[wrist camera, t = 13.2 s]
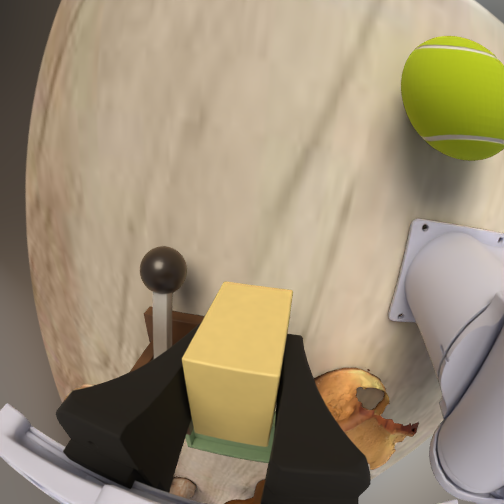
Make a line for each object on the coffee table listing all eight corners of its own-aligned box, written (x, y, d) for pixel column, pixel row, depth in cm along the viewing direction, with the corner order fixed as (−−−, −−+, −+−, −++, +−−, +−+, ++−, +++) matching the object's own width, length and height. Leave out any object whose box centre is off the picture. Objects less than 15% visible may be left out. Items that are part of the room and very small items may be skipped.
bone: (419, 366, 22) (439, 440, 15) (380, 426, 27) (384, 490, 19) (291, 350, 24) (279, 432, 16) (273, 414, 28) (259, 482, 21)
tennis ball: (380, 46, 14) (414, 8, 8) (472, 58, 12) (530, 41, 6) (392, 151, 17) (434, 166, 10) (481, 156, 15) (543, 175, 9)
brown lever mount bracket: (149, 306, 25) (102, 363, 18) (226, 319, 24) (194, 390, 17) (162, 369, 28) (129, 425, 21) (228, 383, 27) (205, 448, 20)
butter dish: (287, 413, 28) (284, 428, 26) (278, 451, 31) (276, 464, 30) (183, 393, 29) (177, 407, 28) (192, 435, 33) (187, 446, 31)
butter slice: (293, 289, 13) (280, 376, 8) (282, 364, 14) (267, 448, 10) (223, 280, 13) (180, 358, 9) (224, 355, 15) (194, 433, 10)
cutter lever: (154, 242, 21) (131, 246, 18) (195, 246, 21) (176, 251, 18) (156, 394, 23) (139, 413, 20) (191, 403, 22) (176, 425, 19)
